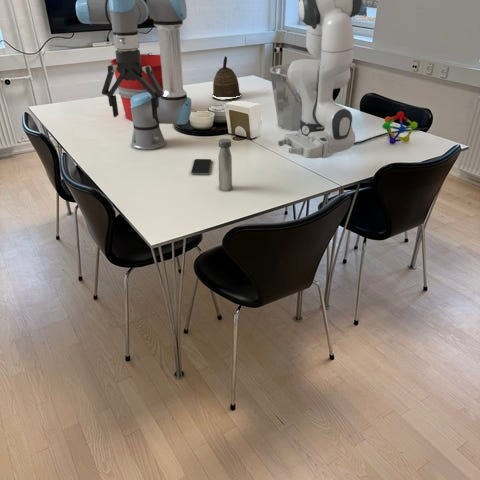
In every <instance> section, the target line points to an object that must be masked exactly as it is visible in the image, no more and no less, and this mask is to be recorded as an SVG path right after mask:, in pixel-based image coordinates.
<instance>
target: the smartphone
mask: <svg viewBox="0 0 480 480" xmlns="http://www.w3.org/2000/svg"><path fill="white" fill-rule="evenodd" d="M211 165H212V159H211V158H195V159H194V160H193V163H192V168H191V172H190V173H191V175H201V176H202V175H203V176H206V175H210V170H211Z"/></svg>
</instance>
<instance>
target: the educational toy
mask: <svg viewBox="0 0 480 480" xmlns="http://www.w3.org/2000/svg"><path fill="white" fill-rule="evenodd" d="M397 119H399V124H400V125H399V127H398V126H393V125H391V124H392V123H394V122H395V121H396V120H397ZM403 120H404V121H405V122H407V123H408V124H409V125H407V126H404V123H403ZM417 127H418V122H417V121H411V120H410V119H409V118H408V117H406V116H405V113H404V112H403V111H401V110H400V111H398V112H397V114H396V115H394V116H391V117H390V116H386V117H385V118H384V122H383V123H382V129H383V130H386V133H388V135H387V138H388V142H389V145H395V144H396V143H397V142H402V141H403V142H404V143H409V142H410V140H411V138H410V136H411V134H412V132H413V131H412V130H413V129H417ZM392 129H393V130H396V131H399V132H398V133H392V132H393V131H392ZM406 129H410V131H408V133H407V134H406V135H404V136H401V134H403V133H405V132H406V131H405V130H406ZM399 135H400V136H399Z"/></svg>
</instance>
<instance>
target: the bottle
mask: <svg viewBox="0 0 480 480" xmlns="http://www.w3.org/2000/svg"><path fill="white" fill-rule="evenodd" d="M218 189H219V190H220V191H222V192H228V191H231V190H232V189H233V157H232V152H231V149H230V148H219V153H218Z"/></svg>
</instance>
